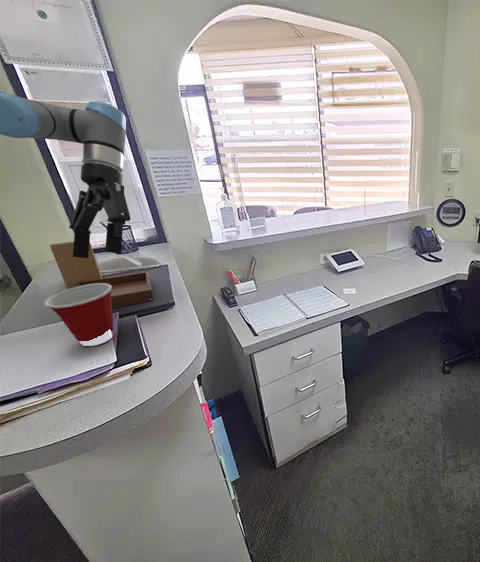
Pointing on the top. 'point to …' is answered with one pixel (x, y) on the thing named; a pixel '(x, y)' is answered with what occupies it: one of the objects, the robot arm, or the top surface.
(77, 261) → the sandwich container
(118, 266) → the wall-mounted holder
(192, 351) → the top surface
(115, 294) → the tray
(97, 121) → the robot arm
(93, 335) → the plastic cup
